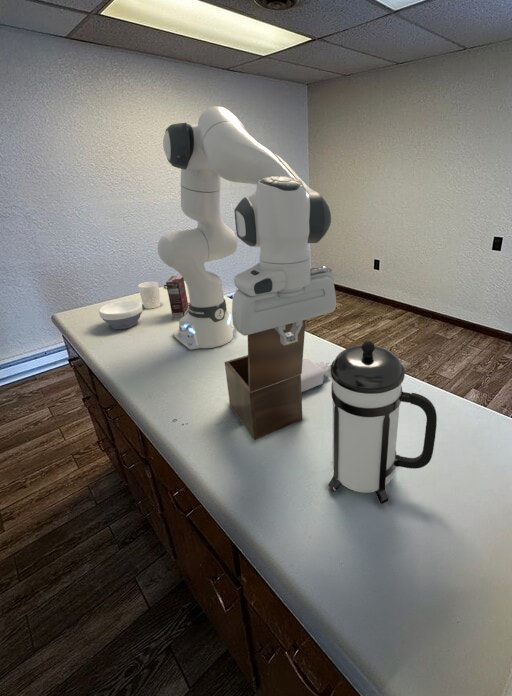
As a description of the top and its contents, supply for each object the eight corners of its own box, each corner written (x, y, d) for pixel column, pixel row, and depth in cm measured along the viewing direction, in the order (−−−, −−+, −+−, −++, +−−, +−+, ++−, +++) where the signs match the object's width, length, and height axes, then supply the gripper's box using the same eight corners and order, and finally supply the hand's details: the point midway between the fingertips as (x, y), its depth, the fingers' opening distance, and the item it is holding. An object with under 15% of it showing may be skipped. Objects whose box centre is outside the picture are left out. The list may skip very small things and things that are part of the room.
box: (229, 404, 93) (224, 361, 88) (273, 388, 100) (270, 347, 95) (254, 440, 81) (249, 393, 76) (302, 419, 88) (300, 374, 83)
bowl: (133, 314, 149) (129, 297, 146) (152, 322, 141) (149, 304, 139) (96, 326, 138) (91, 308, 136) (115, 336, 130) (110, 317, 128)
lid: (247, 325, 68) (248, 327, 68) (304, 311, 75) (306, 313, 74) (248, 390, 76) (250, 392, 76) (299, 371, 83) (301, 374, 82)
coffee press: (348, 526, 62) (352, 377, 51) (314, 460, 75) (311, 331, 64) (430, 491, 68) (449, 352, 57) (384, 437, 82) (393, 316, 71)
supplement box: (177, 311, 152) (171, 275, 146) (189, 311, 152) (184, 275, 146) (172, 320, 144) (165, 282, 138) (184, 319, 144) (178, 281, 138)
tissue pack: (340, 378, 104) (295, 396, 96) (321, 364, 111) (279, 381, 103) (340, 363, 103) (295, 381, 94) (321, 351, 109) (278, 366, 101)
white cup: (138, 308, 155) (133, 286, 151) (149, 302, 162) (145, 281, 159) (155, 309, 154) (150, 287, 150) (165, 303, 161) (161, 281, 157)
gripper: (324, 261, 72) (324, 324, 77) (224, 278, 61) (232, 350, 66) (343, 268, 67) (342, 334, 72) (238, 288, 56) (246, 365, 62)
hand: (289, 342), depth 69 cm, fingers closed
